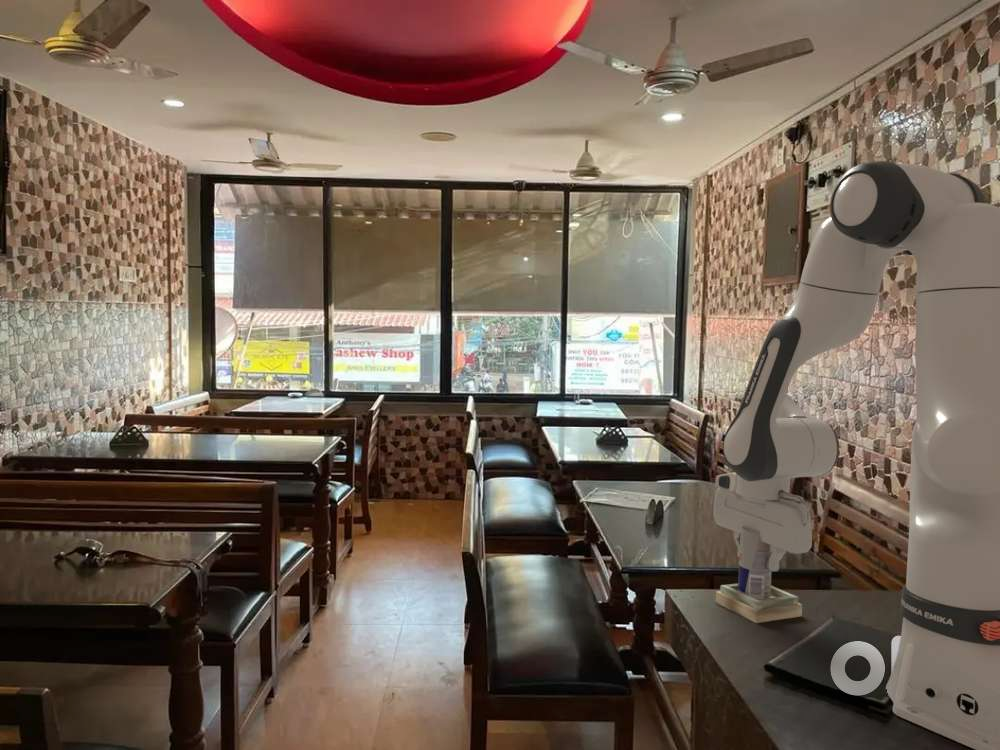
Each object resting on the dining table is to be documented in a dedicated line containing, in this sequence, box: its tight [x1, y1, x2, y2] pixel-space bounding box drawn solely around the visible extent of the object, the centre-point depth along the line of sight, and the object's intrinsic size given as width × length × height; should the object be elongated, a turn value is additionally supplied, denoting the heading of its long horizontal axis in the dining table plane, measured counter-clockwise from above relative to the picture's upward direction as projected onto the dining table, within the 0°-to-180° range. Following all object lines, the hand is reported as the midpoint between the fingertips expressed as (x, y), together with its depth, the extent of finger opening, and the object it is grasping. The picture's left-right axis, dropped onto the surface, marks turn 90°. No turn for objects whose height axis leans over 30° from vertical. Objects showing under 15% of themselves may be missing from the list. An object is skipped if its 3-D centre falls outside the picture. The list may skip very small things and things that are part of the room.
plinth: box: [715, 582, 803, 624], centre depth 124 cm, size 10×10×3 cm
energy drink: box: [737, 527, 773, 600], centre depth 124 cm, size 5×5×12 cm
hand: (757, 563), depth 124 cm, fingers closed on energy drink, 5 cm apart
